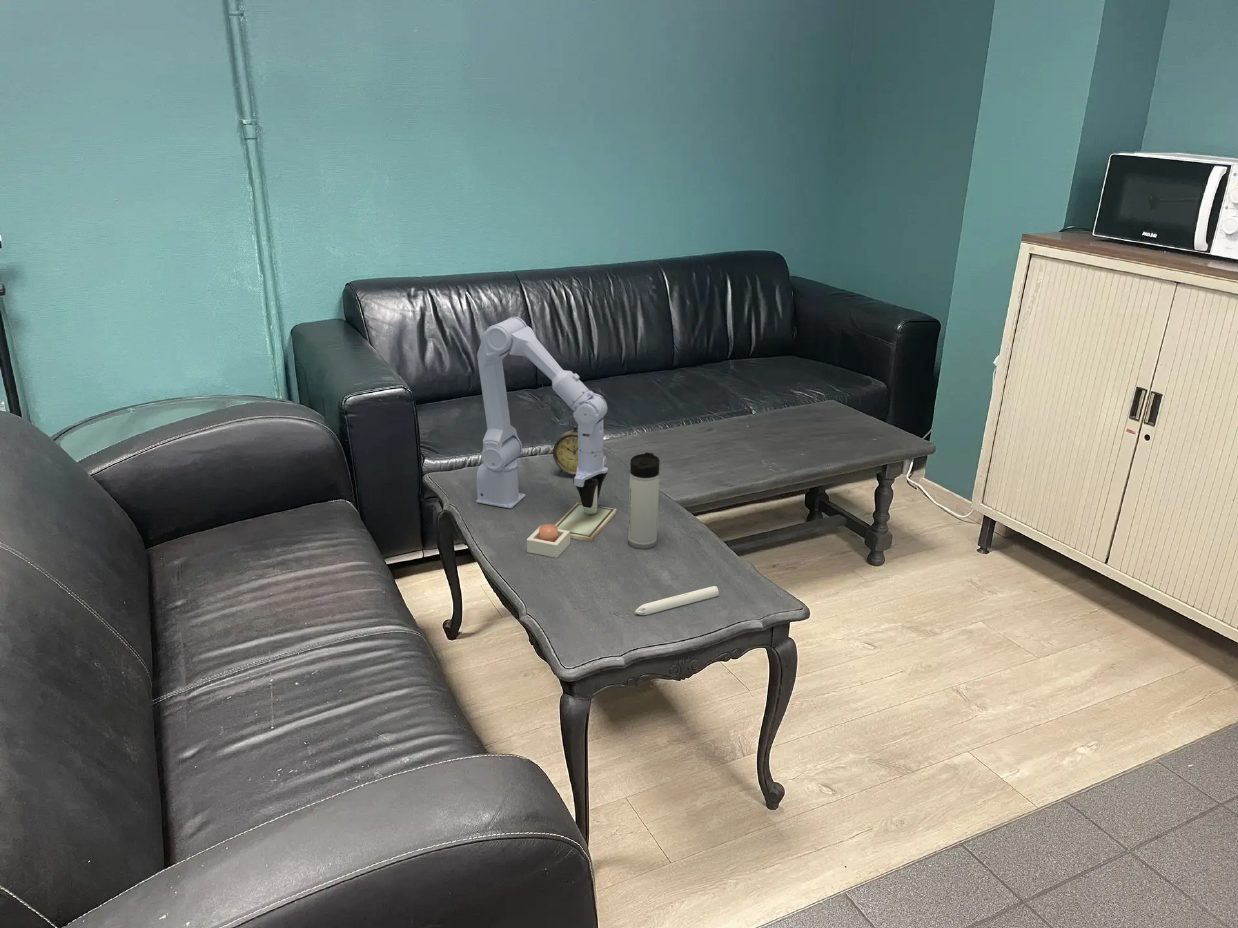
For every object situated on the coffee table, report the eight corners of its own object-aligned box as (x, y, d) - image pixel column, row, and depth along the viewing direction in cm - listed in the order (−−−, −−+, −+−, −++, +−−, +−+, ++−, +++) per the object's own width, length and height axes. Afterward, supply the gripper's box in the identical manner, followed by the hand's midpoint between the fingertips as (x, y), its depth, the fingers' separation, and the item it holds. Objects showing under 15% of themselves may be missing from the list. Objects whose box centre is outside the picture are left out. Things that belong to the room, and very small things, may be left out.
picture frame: (549, 533, 190) (549, 530, 190) (577, 505, 204) (577, 501, 204) (591, 541, 187) (591, 538, 187) (616, 512, 201) (616, 508, 201)
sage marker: (581, 512, 198) (581, 481, 195) (586, 507, 200) (586, 476, 197) (594, 515, 197) (594, 483, 194) (599, 509, 199) (599, 478, 196)
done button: (536, 543, 182) (535, 530, 181) (544, 535, 186) (543, 522, 185) (553, 546, 181) (553, 533, 180) (560, 538, 185) (560, 525, 184)
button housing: (526, 551, 182) (526, 539, 181) (540, 537, 188) (540, 525, 187) (557, 557, 180) (556, 545, 179) (570, 543, 186) (569, 531, 185)
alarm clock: (552, 477, 220) (551, 417, 213) (557, 469, 225) (556, 410, 218) (594, 480, 218) (595, 420, 212) (598, 472, 223) (599, 413, 217)
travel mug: (660, 538, 189) (664, 454, 182) (651, 551, 184) (655, 465, 176) (633, 533, 191) (636, 450, 184) (624, 546, 185) (626, 461, 178)
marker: (637, 619, 159) (637, 608, 159) (632, 614, 161) (632, 603, 160) (718, 598, 167) (719, 587, 166) (712, 593, 169) (713, 582, 168)
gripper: (595, 462, 185) (594, 519, 190) (618, 440, 198) (617, 494, 203) (565, 458, 187) (565, 513, 192) (590, 436, 200) (589, 489, 205)
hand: (590, 503), depth 198 cm, fingers closed on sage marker, 3 cm apart
